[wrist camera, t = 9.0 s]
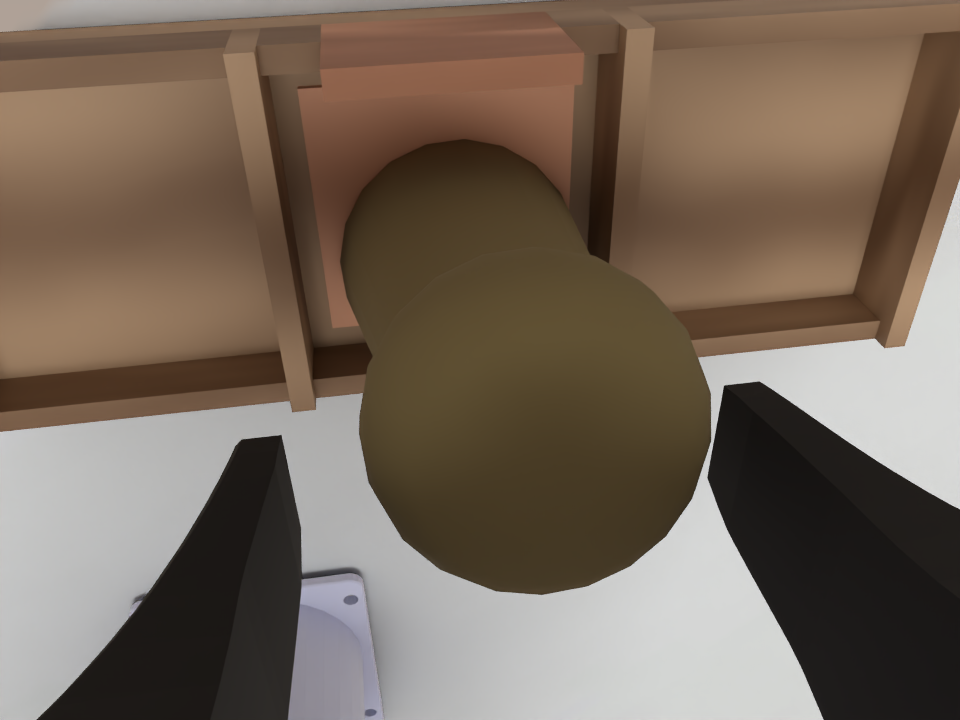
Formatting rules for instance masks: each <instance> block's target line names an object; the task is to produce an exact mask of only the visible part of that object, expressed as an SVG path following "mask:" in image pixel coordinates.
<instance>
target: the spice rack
mask: <svg viewBox="0 0 960 720" xmlns="http://www.w3.org/2000/svg"><path fill="white" fill-rule="evenodd" d="M461 139H468V140H473V141H478V142H484V143H489V144H494V145H500V146H504V147H505V148H507V149H509V150H511V151H512V152H514V153H516V154H518V155H520V156H521V157H523V158H525V159H527V160H528V161H530V162H532V163H534V164H535V165H537V167H538V168H539V169H540V170H541V171H542V172H543V173H544V174H545V176H546V177H547V178H548V179H549V180H550V181H551V182H552V184H553V185H554V186H555V187H556V188H557V189H558V190H559V191H560V193H561V195H562V197H563V199H564V201H565V203H566V205H567V207H568V210H569V212H570V214H571V216H572V218H573V220H574V222H575V224H576V226H577V229H578V231H579V233H580V235H581V237H582V239H583V241H584V243H585V245H586V248H587V250H588V252H589V254H590V255H593V256H596V257H598V258H600V259H602V260H603V261H605V262H607V263H609V264H611V265H613V266H614V267H616V268H618V269H620V270H622V271H624V272H625V273H627V274H629V275H631V276H633V277H635V278H637V279H638V280H640V281H641V282H643V283H644V284H645V285H646V286H647V287H649V288H650V289H651V290H652V291H654V293H655V294H656V295H657V296H658V297H659V298H660V299H661V301H662V302H663V303H664V304H665V305H666V306H667V307H668V308H669V310H670V311H671V312H672V313H673V314H674V315H675V316H676V318H677V319H678V320H679V321H680V322H681V323H682V324H683V326H684V327H685V328H686V329H687V331H688V333H689V336H690V339H691V341H692V344H693V347H694V349H695V352H696V354H697V357H705V356H715V355H724V354H734V353H743V352H752V351H762V350H771V349H780V348H790V347H799V346H809V345H818V344H827V343H837V342H846V341H855V340H865V339H874V338H875V339H876V340H877V341H878V342H879V343H880V344H881V345H882V346H883V347H884V348H890V347H899V346H905V343H906V340H907V337H908V334H909V331H910V328H911V325H912V322H913V319H914V316H915V313H916V309H917V306H918V303H919V300H920V297H921V294H922V291H923V288H924V285H925V282H926V279H927V276H928V273H929V270H930V267H931V264H932V261H933V258H934V255H935V252H936V249H937V246H938V243H939V240H940V237H941V234H942V231H943V228H944V225H945V222H946V218H947V215H948V212H949V209H950V206H951V203H952V200H953V197H954V194H955V191H956V188H957V185H958V182H959V179H960V0H561V1H543V2H525V3H508V4H490V5H472V6H455V7H437V8H419V9H402V10H384V11H366V12H349V13H331V14H313V15H296V16H278V17H260V18H243V19H225V20H207V21H190V22H172V23H154V24H137V25H119V26H101V27H84V28H66V29H48V30H31V31H13V32H0V432H2V431H12V430H21V429H30V428H40V427H49V426H59V425H68V424H77V423H87V422H96V421H105V420H115V419H124V418H134V417H143V416H152V415H162V414H171V413H180V412H190V411H199V410H209V409H218V408H227V407H237V406H246V405H255V404H265V403H274V402H284V401H290V403H291V408H292V412H299V411H308V410H316V398H321V397H330V396H340V395H349V394H359V393H363V392H364V386H365V379H366V373H367V367H368V364H369V363H370V361H371V359H372V357H373V356H372V354H371V351H370V349H369V347H368V344H367V342H366V340H365V338H364V335H363V333H362V331H361V329H360V326H359V324H358V322H357V320H356V317H355V315H354V313H353V311H352V308H351V306H350V304H349V302H348V299H347V297H346V291H345V286H344V281H343V275H342V270H341V265H340V257H341V250H342V243H343V236H344V229H345V223H346V221H347V219H348V217H349V215H350V213H351V212H352V210H353V208H354V206H355V204H356V202H357V200H358V198H359V196H360V194H361V192H362V190H363V189H364V188H365V187H366V186H367V185H368V184H369V183H370V182H371V181H372V180H373V179H374V178H375V177H376V176H377V175H378V174H379V173H380V172H381V171H382V170H383V169H384V168H385V167H386V166H387V165H388V164H389V163H390V162H391V161H393V160H395V159H397V158H399V157H401V156H403V155H405V154H407V153H409V152H411V151H414V150H416V149H418V148H420V147H422V146H424V145H426V144H432V143H439V142H446V141H454V140H461Z"/></svg>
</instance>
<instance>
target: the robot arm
mask: <svg viewBox="0 0 960 720" xmlns="http://www.w3.org/2000/svg"><path fill="white" fill-rule="evenodd" d="M707 478H708V480H709V483H710V486H711V489H712V491H713V494H714V497H715V500H716V502H717V505H718V508H719V510H720V513H721V515H722V518H723V520H724V523H725V525H726V528H727V530H728V532H729V534H730V536H731V538H732V540H733V542H734V544H735V545H736V547H737V549H738V551H739V553H740V555H741V557H742V558H743V560H744V562H745V564H746V566H747V568H748V569H749V571H750V573H751V575H752V577H753V579H754V580H755V582H756V584H757V586H758V588H759V589H760V591H761V593H762V595H763V597H764V598H765V600H766V602H767V604H768V606H769V607H770V609H771V611H772V613H773V615H774V616H775V618H776V620H777V622H778V624H779V625H780V627H781V629H782V631H783V633H784V634H785V636H786V638H787V640H788V642H789V644H790V646H791V648H792V650H793V652H794V654H795V656H796V658H797V660H798V662H799V664H800V666H801V668H802V670H803V672H804V674H805V677H806V679H807V681H808V684H809V686H810V688H811V691H812V693H813V696H814V698H815V700H816V703H817V705H818V707H819V710H820V712H821V714H822V717H823V719H824V720H960V509H958V508H956V507H954V506H952V505H950V504H948V503H946V502H945V501H943V500H941V499H939V498H937V497H936V496H934V495H932V494H930V493H929V492H927V491H925V490H923V489H922V488H920V487H918V486H917V485H915V484H913V483H912V482H910V481H908V480H907V479H905V478H903V477H902V476H900V475H898V474H897V473H895V472H893V471H892V470H890V469H889V468H887V467H886V466H884V465H882V464H881V463H879V462H878V461H876V460H875V459H873V458H871V457H870V456H868V455H867V454H865V453H864V452H862V451H861V450H859V449H858V448H856V447H855V446H853V445H852V444H850V443H849V442H847V441H846V440H844V439H843V438H841V437H840V436H838V435H837V434H836V433H834V432H833V431H831V430H830V429H828V428H827V427H825V426H824V425H823V424H821V423H820V422H818V421H817V420H815V419H814V418H812V417H811V416H810V415H808V414H807V413H805V412H804V411H802V410H801V409H800V408H798V407H797V406H795V405H794V404H792V403H791V402H790V401H788V400H787V399H785V398H784V397H782V396H781V395H779V394H778V393H776V392H775V391H773V390H772V389H770V388H769V387H767V386H766V385H764V384H763V383H761V382H752V383H743V384H734V385H725V386H724V390H723V395H722V401H721V406H720V412H719V417H718V422H717V428H716V433H715V439H714V444H713V450H712V455H711V461H710V466H709V472H708V477H707ZM349 595H353V596H349ZM37 720H384V713H383V706H382V700H381V693H380V687H379V680H378V674H377V667H376V661H375V654H374V648H373V641H372V635H371V629H370V622H369V616H368V609H367V603H366V596H365V590H364V583H363V580H362V578H361V577H360V576H359V575H356V574H353V573H347V574H339V575H332V576H324V577H316V578H309V579H302V566H301V527H300V522H299V517H298V512H297V507H296V503H295V498H294V493H293V488H292V483H291V479H290V474H289V469H288V464H287V459H286V455H285V450H284V445H283V440H282V436H281V435H279V436H270V437H261V438H252V439H243V440H241V441H240V442H239V443H238V444H237V445H236V446H235V449H234V451H233V453H232V455H231V457H230V459H229V461H228V463H227V465H226V467H225V469H224V471H223V473H222V475H221V477H220V479H219V481H218V483H217V485H216V486H215V488H214V490H213V492H212V494H211V495H210V497H209V499H208V501H207V503H206V504H205V506H204V508H203V510H202V511H201V513H200V515H199V516H198V518H197V520H196V521H195V523H194V524H193V526H192V528H191V529H190V531H189V533H188V534H187V536H186V538H185V539H184V541H183V543H182V544H181V546H180V547H179V549H178V550H177V552H176V553H175V555H174V556H173V558H172V559H171V561H170V562H169V564H168V565H167V566H166V568H165V569H164V571H163V572H162V574H161V575H160V577H159V578H158V580H157V581H156V583H155V584H154V585H153V587H152V588H151V590H150V591H149V592H148V594H147V595H146V596H145V598H144V599H143V600H141V601H138V602H136V603H134V604H133V605H132V607H131V609H130V613H129V619H128V620H127V621H126V622H125V624H124V625H123V626H122V627H121V629H120V630H119V631H118V632H117V633H116V635H115V636H114V637H113V638H112V640H111V641H110V642H109V643H108V644H107V646H106V647H105V648H104V649H103V650H102V651H101V652H100V653H99V655H98V656H97V657H96V658H95V659H94V660H93V661H92V662H91V664H90V665H89V666H88V667H87V668H86V669H85V670H84V671H83V672H82V674H81V675H80V676H79V677H78V678H77V679H76V680H75V681H74V682H73V684H72V685H71V686H70V687H69V688H68V689H67V690H66V691H65V692H64V693H63V694H62V695H61V696H60V697H59V698H58V699H57V700H56V701H55V702H54V703H53V704H52V705H51V706H50V707H49V708H48V709H47V710H46V711H45V712H44V713H43V714H42V715H41V716H40V717H39V718H38V719H37Z"/></svg>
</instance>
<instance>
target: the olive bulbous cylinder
mask: <svg viewBox="0 0 960 720" xmlns="http://www.w3.org/2000/svg"><path fill="white" fill-rule="evenodd" d="M340 265H341V270H342V275H343V281H344V286H345V291H346V297H347V299H348V302H349V304H350V306H351V308H352V311H353V313H354V315H355V317H356V320H357V322H358V324H359V326H360V329H361V331H362V333H363V335H364V338H365V340H366V342H367V344H368V347H369V349H370V351H371V354H372V356H373V357H372V359H371V361H370V363H369V364H368V367H367V373H366V379H365V386H364V392H363V398H362V404H361V410H360V421H359V435H360V440H361V445H362V451H363V456H364V461H365V466H366V471H367V476H368V481H369V484H370V486H371V487H372V489H373V491H374V493H375V494H376V496H377V498H378V500H379V501H380V503H381V504H382V506H383V508H384V509H385V511H386V513H387V514H388V516H389V518H390V519H391V521H392V522H393V524H394V526H395V527H396V529H397V531H398V532H399V534H400V536H401V537H402V539H403V540H404V541H405V542H407V543H408V544H409V545H410V546H411V547H413V548H414V549H415V550H416V551H418V552H419V553H420V554H421V555H423V556H424V557H425V558H426V559H428V560H429V561H430V562H431V563H433V564H434V565H435V566H436V567H438V568H439V569H440V570H443V571H445V572H448V573H450V574H453V575H455V576H458V577H460V578H463V579H466V580H468V581H471V582H473V583H476V584H479V585H481V586H484V587H487V588H489V589H492V590H494V591H500V592H512V593H525V594H538V595H543V594H549V593H554V592H559V591H565V590H570V589H575V588H580V587H586V586H589V585H591V584H593V583H595V582H597V581H600V580H602V579H604V578H606V577H608V576H610V575H612V574H615V573H617V572H619V571H621V570H623V569H625V568H627V567H629V566H631V565H632V564H633V563H634V562H636V561H637V560H638V559H639V558H640V557H642V556H643V555H644V554H645V553H646V552H648V551H649V550H650V549H651V548H652V547H654V546H655V545H656V544H657V543H659V542H660V541H661V540H662V539H663V538H665V537H666V535H667V534H668V532H669V531H670V530H671V528H672V527H673V525H674V524H675V522H676V521H677V520H678V518H679V517H680V515H681V514H682V512H683V511H684V510H685V508H686V507H687V505H688V504H689V502H690V501H691V499H692V497H693V494H694V491H695V489H696V486H697V483H698V480H699V476H700V473H701V470H702V467H703V464H704V461H705V458H706V455H707V452H708V449H709V446H710V443H711V393H710V390H709V387H708V384H707V381H706V378H705V376H704V373H703V370H702V368H701V365H700V362H699V360H698V357H697V354H696V352H695V349H694V347H693V344H692V341H691V339H690V336H689V333H688V331H687V329H686V328H685V327H684V326H683V324H682V323H681V322H680V321H679V320H678V319H677V318H676V316H675V315H674V314H673V313H672V312H671V311H670V310H669V308H668V307H667V306H666V305H665V304H664V303H663V302H662V301H661V299H660V298H659V297H658V296H657V295H656V294H655V293H654V291H652V290H651V289H650V288H649V287H647V286H646V285H645V284H644V283H643V282H641V281H640V280H638V279H637V278H635V277H633V276H631V275H629V274H627V273H625V272H624V271H622V270H620V269H618V268H616V267H614V266H613V265H611V264H609V263H607V262H605V261H603V260H602V259H600V258H598V257H596V256H593V255H590V254H589V252H588V250H587V248H586V245H585V243H584V241H583V239H582V237H581V235H580V233H579V231H578V229H577V226H576V224H575V222H574V220H573V218H572V216H571V214H570V212H569V210H568V207H567V205H566V203H565V201H564V199H563V197H562V195H561V193H560V191H559V190H558V189H557V188H556V187H555V186H554V185H553V184H552V182H551V181H550V180H549V179H548V178H547V177H546V176H545V174H544V173H543V172H542V171H541V170H540V169H539V168H538V167H537V165H535V164H534V163H532V162H530V161H528V160H527V159H525V158H523V157H521V156H520V155H518V154H516V153H514V152H512V151H511V150H509V149H507V148H505V147H504V146H500V145H494V144H489V143H484V142H478V141H473V140H468V139H461V140H454V141H446V142H439V143H432V144H426V145H424V146H422V147H420V148H418V149H416V150H414V151H411V152H409V153H407V154H405V155H403V156H401V157H399V158H397V159H395V160H393V161H391V162H390V163H389V164H388V165H387V166H386V167H385V168H384V169H383V170H382V171H381V172H380V173H379V174H378V175H377V176H376V177H375V178H374V179H373V180H372V181H371V182H370V183H369V184H368V185H367V186H366V187H365V188H364V189H363V190H362V192H361V194H360V196H359V198H358V200H357V202H356V204H355V206H354V208H353V210H352V212H351V213H350V215H349V217H348V219H347V221H346V223H345V229H344V236H343V243H342V250H341V257H340Z"/></svg>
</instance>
